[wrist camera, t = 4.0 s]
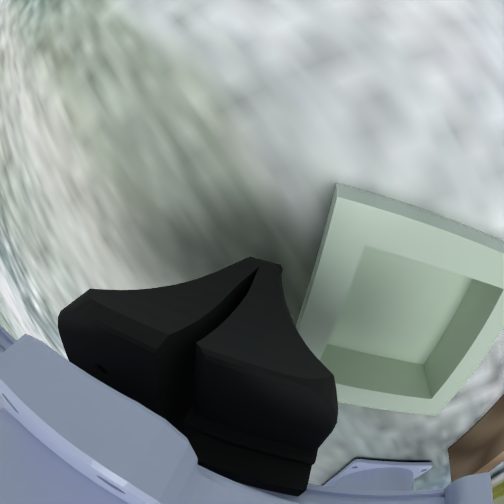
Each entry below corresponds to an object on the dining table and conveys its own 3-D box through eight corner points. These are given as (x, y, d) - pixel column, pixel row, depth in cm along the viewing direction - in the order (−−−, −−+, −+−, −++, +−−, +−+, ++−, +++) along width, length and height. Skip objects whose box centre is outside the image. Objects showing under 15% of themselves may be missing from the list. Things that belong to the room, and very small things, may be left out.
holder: (427, 375, 13) (436, 415, 10) (289, 344, 14) (277, 387, 11) (501, 239, 9) (534, 267, 6) (336, 181, 10) (337, 196, 8)
